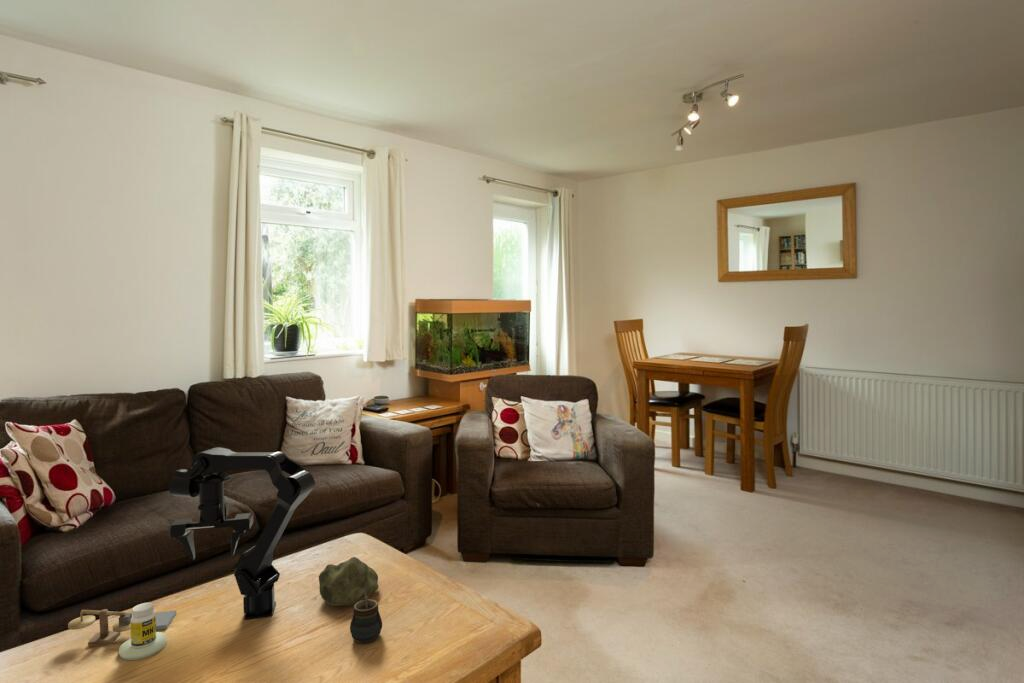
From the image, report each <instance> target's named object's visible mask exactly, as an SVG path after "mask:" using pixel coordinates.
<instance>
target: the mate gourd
mask: <svg viewBox="0 0 1024 683" xmlns="http://www.w3.org/2000/svg"><path fill="white" fill-rule="evenodd" d="M364 596H365V598H364V599H362V600H361V601H359V602H357V603H356V604H355V605H353V607H352V609H353V614H352V618H351V619H350V620H351V621H350V624H349V630H350V635H351V638H352V639H353V640H354V641H355V642H357V643H359V644H369V643H372V642H374V641H375V640H376V639H377V638H378V637H379V636H380V634H381V632H382V628H383V621H382V617H381V613H380V611H379V603H378V601H376V600H375V599H370V598H369V599H368V596H367V593H366V589H364Z"/></svg>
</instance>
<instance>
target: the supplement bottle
mask: <svg viewBox="0 0 1024 683" xmlns="http://www.w3.org/2000/svg"><path fill="white" fill-rule="evenodd" d="M131 613H132V618H131V629H130V639H131V646H132V647H133V648H143V647H147V646H149V645H151V644H152V643H153V642H154V641H155V640H156V632H157V630H156V617H155V613H156V612H155V611H154V604H153V603H152V602H143V603H140V604H139V603H138V604H137V605H135V606H133V607H132V612H131Z"/></svg>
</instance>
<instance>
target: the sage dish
mask: <svg viewBox="0 0 1024 683" xmlns="http://www.w3.org/2000/svg"><path fill="white" fill-rule="evenodd" d="M167 640H168V639H167V634H165V633H164V632H161V631H156V640H155V641H154V642H153V643H152V644H151V645H149V646H147V647H143V648H133V647H132V646H131V638H129V639H126V641H124V642H123V643H122V644H121V645H120V646H119V648H118V654H119V658H120V659H121V660H124V661H137V660H142V659H145V658H148V657H152V656H153V655H155V654H157V653H158V652H160V651H162V650H163V649H164V648H165V646H166V645H167V642H168V641H167Z"/></svg>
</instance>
